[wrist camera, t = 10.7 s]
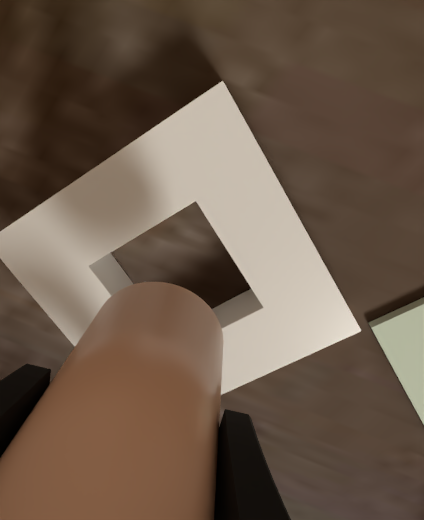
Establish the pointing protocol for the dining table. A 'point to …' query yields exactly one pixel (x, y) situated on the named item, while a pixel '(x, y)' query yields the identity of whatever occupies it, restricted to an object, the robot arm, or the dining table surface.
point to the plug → (125, 417)
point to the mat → (405, 348)
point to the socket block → (165, 205)
